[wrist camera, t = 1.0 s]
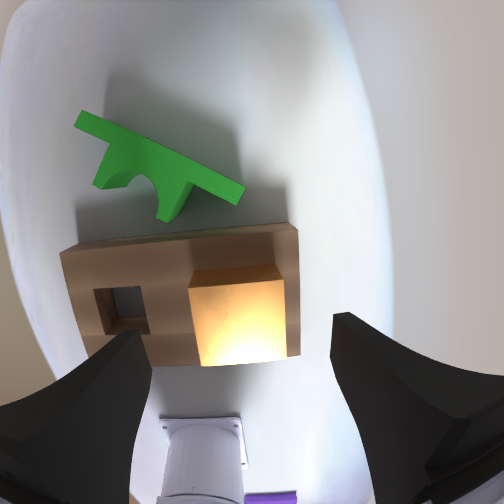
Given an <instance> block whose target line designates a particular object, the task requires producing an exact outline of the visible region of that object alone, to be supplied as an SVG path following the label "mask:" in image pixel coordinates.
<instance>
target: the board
mask: <svg viewBox="0 0 504 504" xmlns="http://www.w3.org/2000/svg"><path fill="white" fill-rule="evenodd" d="M59 254H60V259H61V263H62V268H63V273H64V277H65V281H66V285H67V289H68V293H69V297H70V301H71V304H72V308H73V311H74V315H75V318H76V321H77V325H78V328H79V331H80V334H81V337H82V340H83V343H84V346H85V349H86V352H87V354H88V357H89V358H90V357H91V356H92V355H93V354H95V353H96V352H97V351H98V350H99V349H101V348H102V347H103V346H104V345H105V344H107V343H108V342H109V341H110V340H112V339H113V338H114V337H115V336H117V335H118V334H119V333H121V332H122V331H123V330H134V329H139V331H140V334H141V337H142V341H143V344H144V347H145V350H146V353H147V356H148V359H149V362H150V365H151V366H188V365H201V361H200V356H199V351H198V345H197V340H196V334H195V329H194V323H193V317H192V311H191V305H190V299H189V293H188V286H189V284H190V281H191V278H192V276H193V273H194V271H199V270H210V269H222V268H233V267H244V266H255V265H266V264H276V266H277V268H278V270H279V272H280V274H281V275H282V277H283V279H284V300H285V329H286V357H291V356H298V355H300V274H299V244H298V229H296V228H295V227H294V226H293V225H291V224H290V223H289V222H287V223H274V224H262V225H250V226H239V227H227V228H216V229H206V230H195V231H185V232H175V233H166V234H156V235H147V236H138V237H129V238H120V239H112V240H103V241H95V242H87V243H79V244H77V245H75V246H72V247H70V248H68V249H66V250H64V251H63V252H61V253H59ZM130 286H140V288H141V293H142V298H143V303H144V307H145V312H146V317H119V318H118V314H117V310H116V306H115V302H114V298H113V294H112V289H111V288H115V287H130Z"/></svg>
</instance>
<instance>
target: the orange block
mask: <svg viewBox="0 0 504 504" xmlns="http://www.w3.org/2000/svg"><path fill="white" fill-rule="evenodd" d="M188 293H189V299H190V305H191V311H192V317H193V323H194V329H195V334H196V340H197V345H198V351H199V356H200V361H201V366H217V365H230V364H242V363H253V362H262V361H271V360H280V359H286V329H285V300H284V279H283V277H282V275H281V274H280V272H279V270H278V268H277V266H276V264H266V265H255V266H244V267H233V268H222V269H210V270H199V271H194V273H193V276H192V278H191V281H190V284H189V286H188Z"/></svg>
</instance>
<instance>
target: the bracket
mask: <svg viewBox="0 0 504 504" xmlns="http://www.w3.org/2000/svg"><path fill="white" fill-rule="evenodd" d="M296 503H297V496H296V493H288V494H274V495H248V496H246V497H245V503H244V504H296Z"/></svg>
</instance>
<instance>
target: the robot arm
mask: <svg viewBox="0 0 504 504" xmlns="http://www.w3.org/2000/svg"><path fill="white" fill-rule="evenodd" d="M330 359H331V363H332V367H333V370H334V373H335V377H336V380H337V382H338V384H339V386H340V389H341V391H342V393H343V395H344V398H345V400H346V402H347V404H348V406H349V409H350V411H351V413H352V415H353V418H354V420H355V422H356V425H357V427H358V430H359V433H360V436H361V440H362V443H363V447H364V450H365V454H366V458H367V462H368V466H369V470H370V475H371V479H372V484H373V489H374V495H375V500H376V504H504V376H501V375H491V374H483V373H478V372H473V371H468V370H464V369H460V368H456V367H453V366H450V365H447V364H444V363H441V362H438V361H435V360H433V359H430V358H428V357H426V356H423V355H421V354H419V353H416V352H414V351H412V350H410V349H409V348H407V347H405V346H403V345H401V344H399V343H398V342H396V341H394V340H392V339H391V338H389V337H387V336H386V335H384V334H383V333H381V332H379V331H378V330H376V329H375V328H373V327H372V326H370V325H369V324H367V323H366V322H364V321H363V320H361V319H360V318H358V317H357V316H355V315H353V314H352V313H350V312H344V313H337V314H333V326H332V338H331V349H330ZM151 376H152V368H151V365H150V362H149V359H148V356H147V353H146V350H145V347H144V344H143V341H142V337H141V334H140V331H139V329H134V330H123V331H122V332H121V333H119V334H118V335H117V336H115V337H114V338H113V339H112V340H110V341H109V342H108V343H107V344H105V345H104V346H103V347H102V348H101V349H99V350H98V351H97V352H96V353H95V354H93V355H92V356H91V357H90V358H88V359H87V360H86V361H84V362H83V363H82V364H80V365H79V366H78V367H76V368H75V369H74V370H72V371H71V372H70V373H68V374H67V375H65V376H64V377H62V378H61V379H59V380H57V381H56V382H54V383H53V384H51V385H50V386H47V387H45V388H43V389H42V390H39V391H37V392H35V393H33V394H31V395H29V396H27V397H25V398H22V399H20V400H17V401H15V402H12V403H9V404H6V405H3V406H0V504H129V485H130V473H131V463H132V455H133V448H134V443H135V439H136V435H137V431H138V428H139V424H140V421H141V418H142V414H143V411H144V408H145V404H146V401H147V398H148V394H149V389H150V383H151ZM235 424H237V425H235ZM159 425H160V428H161V430H162V433H163V435H164V438H165V440H166V442H167V445H168V447H169V450H168V455H167V461H166V467H165V473H164V479H163V486H162V492H161V496H158V497H157V502H156V504H244V492H243V478H242V470H247V469H248V461H247V456H246V449H245V443H244V437H243V431H242V424H241V419H240V418H238V417H226V418H205V419H160V420H159ZM165 426H166V427H165Z"/></svg>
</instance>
